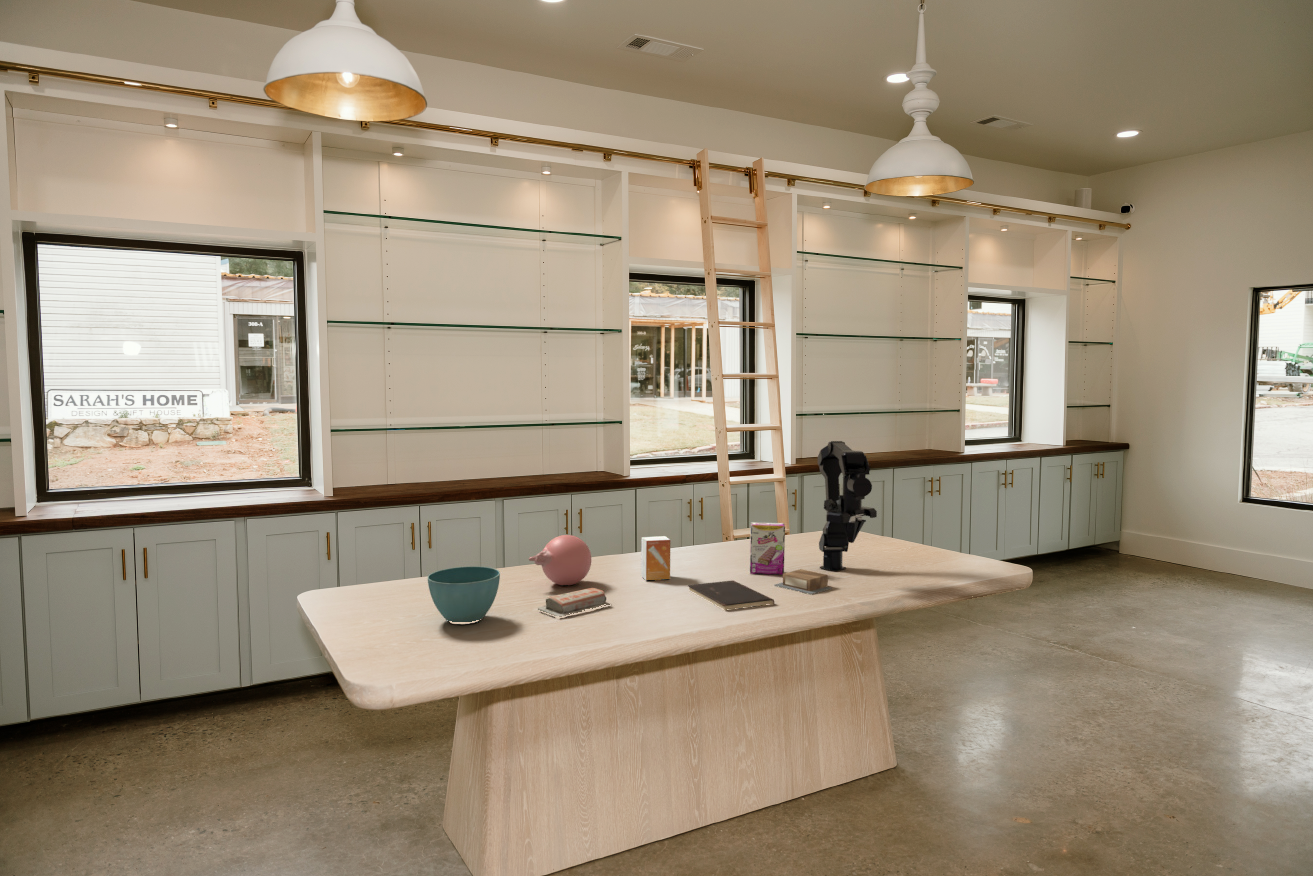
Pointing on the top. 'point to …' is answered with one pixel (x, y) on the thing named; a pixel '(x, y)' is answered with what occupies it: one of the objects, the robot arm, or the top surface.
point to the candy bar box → (767, 548)
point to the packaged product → (574, 602)
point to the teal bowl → (464, 592)
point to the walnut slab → (805, 580)
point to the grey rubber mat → (803, 590)
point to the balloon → (564, 560)
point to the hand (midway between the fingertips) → (851, 542)
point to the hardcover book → (730, 594)
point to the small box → (655, 558)
